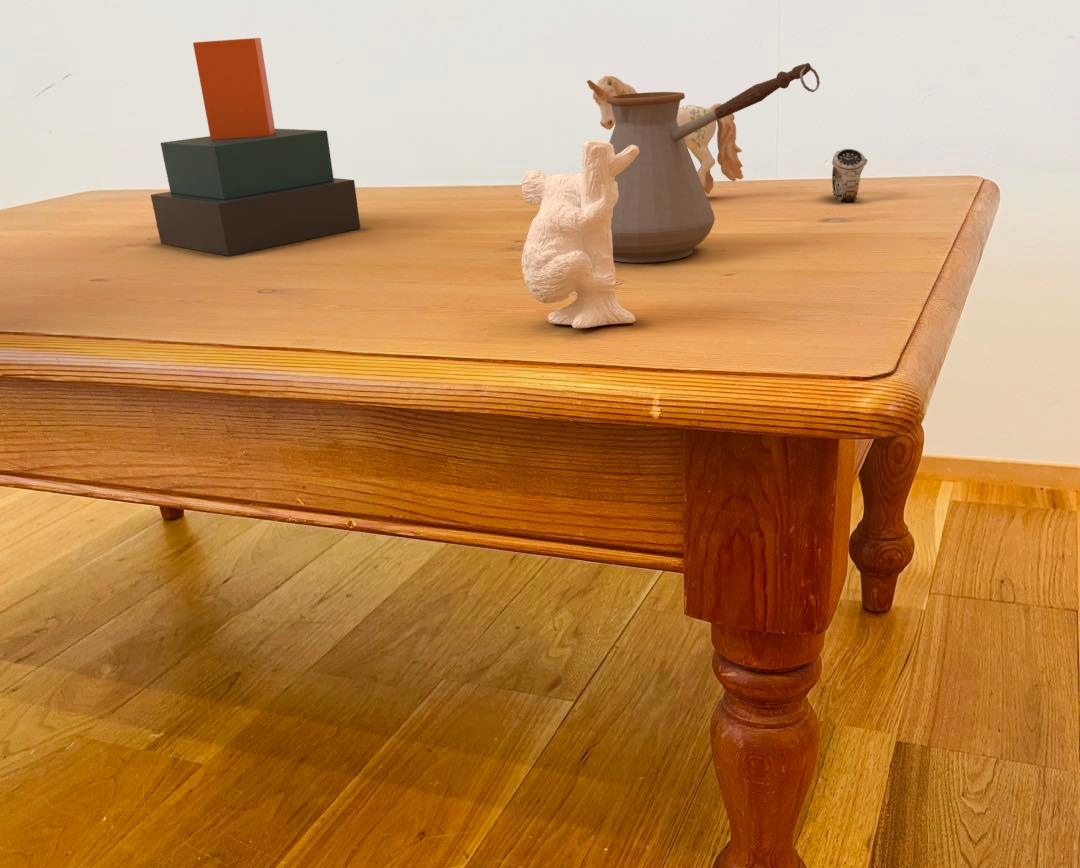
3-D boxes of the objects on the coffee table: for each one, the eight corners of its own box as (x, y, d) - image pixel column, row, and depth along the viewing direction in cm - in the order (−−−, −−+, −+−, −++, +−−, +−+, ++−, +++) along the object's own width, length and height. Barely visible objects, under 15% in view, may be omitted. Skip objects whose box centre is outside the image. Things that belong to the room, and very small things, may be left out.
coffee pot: (555, 260, 94) (545, 73, 87) (637, 236, 101) (634, 62, 95) (765, 287, 80) (772, 69, 74) (843, 258, 88) (855, 57, 81)
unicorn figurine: (560, 212, 116) (553, 78, 110) (710, 190, 124) (711, 63, 118) (593, 220, 110) (587, 79, 105) (748, 197, 118) (751, 64, 112)
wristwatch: (834, 204, 110) (837, 153, 108) (822, 195, 116) (824, 146, 114) (868, 202, 110) (872, 151, 108) (855, 193, 116) (858, 144, 114)
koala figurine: (663, 317, 74) (660, 133, 69) (610, 343, 69) (603, 146, 64) (562, 306, 79) (553, 132, 74) (507, 329, 74) (492, 145, 69)
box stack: (228, 256, 105) (208, 148, 101) (160, 243, 114) (139, 144, 110) (360, 228, 115) (347, 129, 111) (288, 218, 124) (273, 126, 120)
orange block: (210, 140, 109) (192, 42, 105) (217, 137, 112) (200, 41, 108) (270, 136, 109) (254, 38, 105) (275, 132, 112) (260, 37, 108)
